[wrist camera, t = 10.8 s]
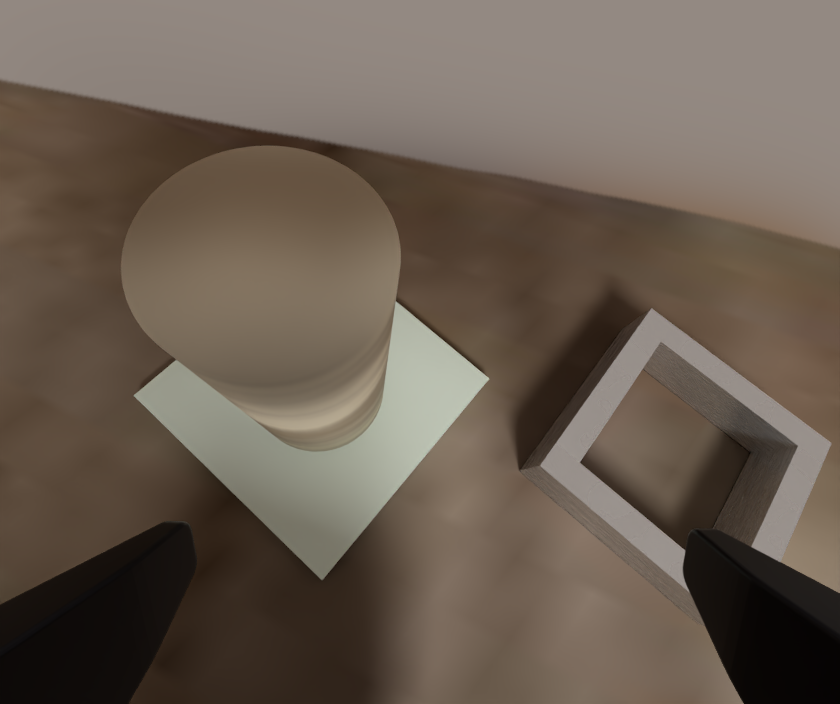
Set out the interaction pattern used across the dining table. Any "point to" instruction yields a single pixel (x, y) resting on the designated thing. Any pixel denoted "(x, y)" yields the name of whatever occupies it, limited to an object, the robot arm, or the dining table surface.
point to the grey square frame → (718, 402)
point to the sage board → (323, 470)
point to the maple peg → (271, 287)
